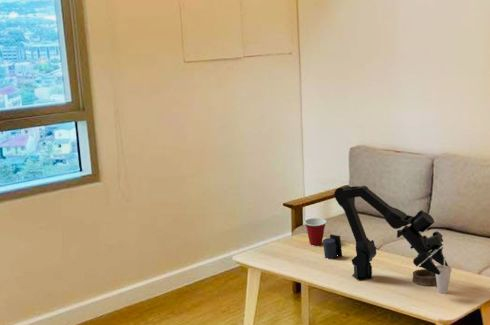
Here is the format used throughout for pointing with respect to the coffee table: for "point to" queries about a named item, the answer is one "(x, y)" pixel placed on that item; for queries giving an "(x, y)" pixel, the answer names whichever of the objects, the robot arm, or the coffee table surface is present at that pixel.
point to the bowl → (424, 277)
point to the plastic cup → (315, 230)
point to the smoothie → (443, 278)
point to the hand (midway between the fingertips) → (443, 270)
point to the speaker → (332, 246)
